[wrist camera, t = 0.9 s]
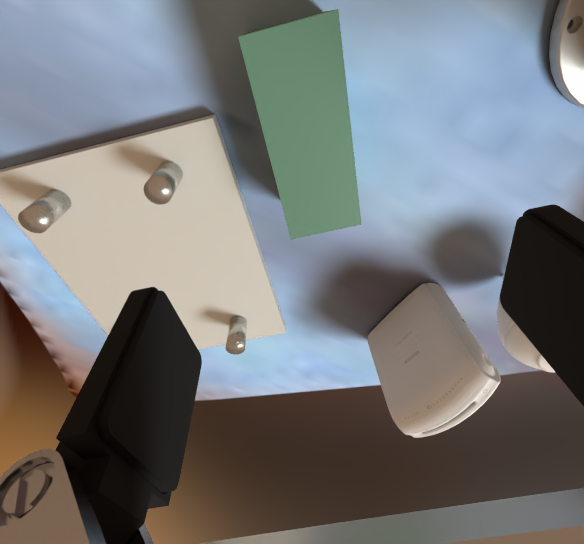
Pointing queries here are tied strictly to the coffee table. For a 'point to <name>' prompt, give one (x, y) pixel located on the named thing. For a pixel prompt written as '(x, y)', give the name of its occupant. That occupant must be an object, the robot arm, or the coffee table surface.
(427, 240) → the coffee table surface
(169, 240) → the standoff plate
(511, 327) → the spinning top
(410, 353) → the photo printer
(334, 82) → the board block
